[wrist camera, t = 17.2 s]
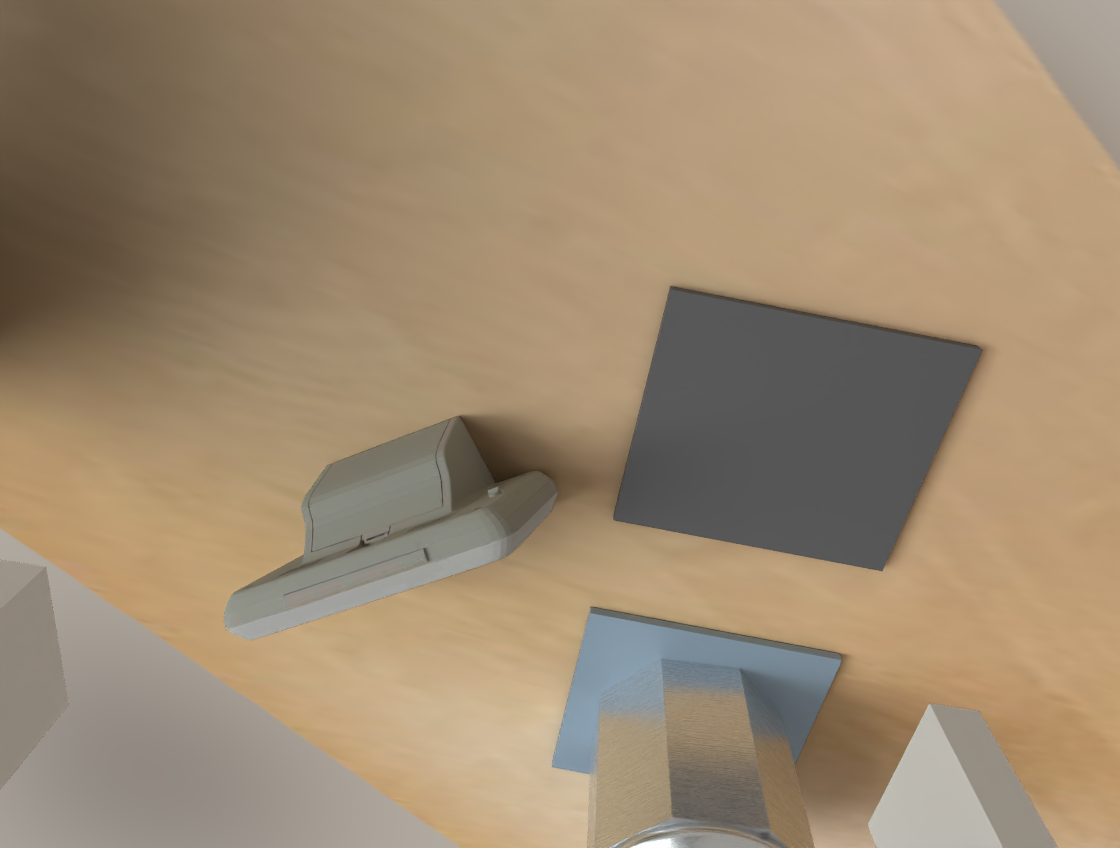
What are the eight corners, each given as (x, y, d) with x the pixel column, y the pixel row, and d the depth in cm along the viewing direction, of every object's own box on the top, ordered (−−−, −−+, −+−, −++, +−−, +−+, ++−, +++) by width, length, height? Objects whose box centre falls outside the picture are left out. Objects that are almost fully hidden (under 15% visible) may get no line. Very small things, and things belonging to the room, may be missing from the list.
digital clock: (322, 570, 49) (249, 697, 39) (270, 445, 45) (176, 552, 35) (573, 535, 46) (560, 661, 37) (540, 400, 42) (517, 502, 33)
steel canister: (585, 781, 54) (575, 1007, 42) (606, 651, 49) (601, 864, 36) (755, 802, 54) (797, 1036, 41) (794, 674, 49) (857, 897, 36)
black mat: (613, 514, 45) (613, 520, 45) (670, 286, 39) (671, 289, 39) (879, 564, 45) (882, 571, 45) (977, 345, 39) (982, 349, 39)
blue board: (552, 760, 55) (552, 767, 54) (590, 606, 48) (590, 613, 48) (773, 800, 55) (775, 808, 54) (839, 653, 49) (841, 660, 48)
